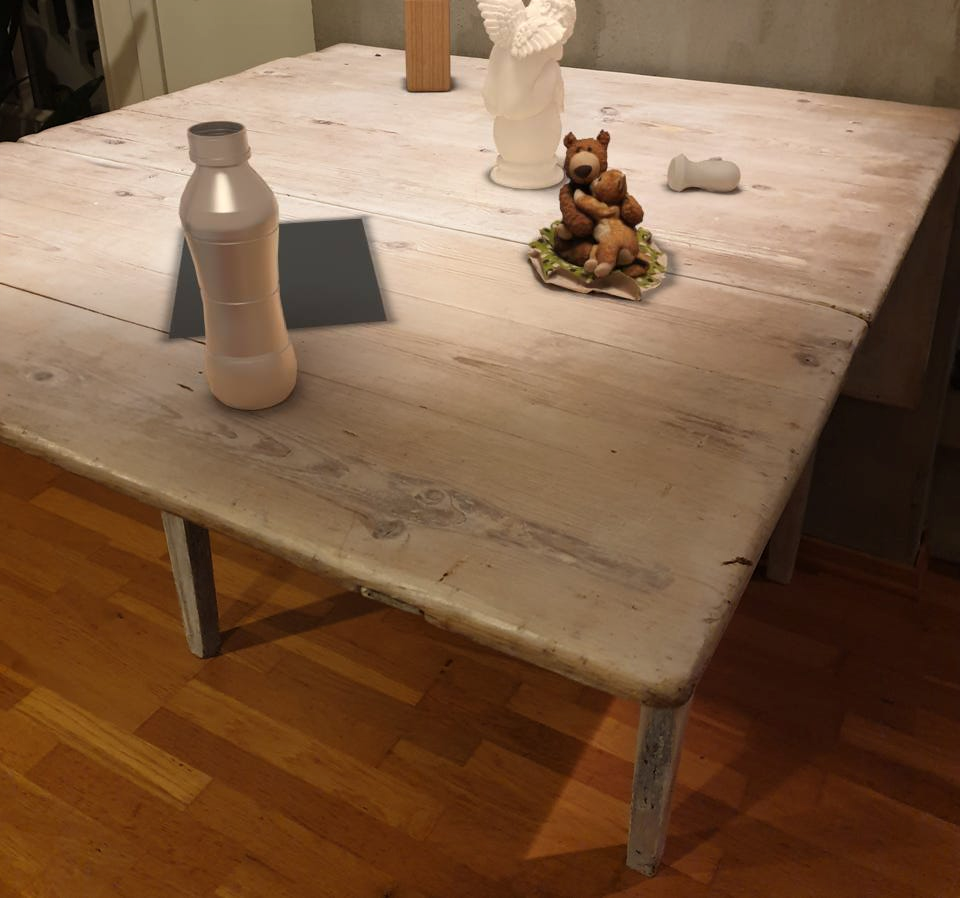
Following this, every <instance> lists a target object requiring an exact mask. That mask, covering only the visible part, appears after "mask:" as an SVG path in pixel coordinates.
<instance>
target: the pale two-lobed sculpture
mask: <svg viewBox="0 0 960 898" xmlns="http://www.w3.org/2000/svg"><path fill="white" fill-rule="evenodd" d="M666 180H667V185H668V188H669V189H670V190H672V191H674V192H678V193H681V192H682V191H684V190H685V189H688V188H697V189H700V190H705V191H709V192H719V193H729V192H731V191H733V190H735V189H736V188H737V186H738V185H739V183H740V181H741V170H740V168H739V166H738V165H737V164H736V163H734V162H733V161H729V160H723V158H722V156H713V157H710V158H708V159H704V160H701V161H699V162H695V161H691V160H690V159H689V158H687V157H686V156H685V155H684V154H683V153H681V154H678V155H677V156H674V157H673V158H672V159H671V160H670V162H669V165H668V168H667V179H666Z"/></svg>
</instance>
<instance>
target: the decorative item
mask: <svg viewBox="0 0 960 898" xmlns="http://www.w3.org/2000/svg"><path fill="white" fill-rule="evenodd" d="M402 3H403V24H404V27H403V28H404V30H403V31H404V56H405V57H404V58H405V75H406V76H405V82H406V85H405V87H406V90H407V91H409V92H411V93H412V92H415V93H416V92H418V93H419V92H448V91H450V90H451V87H452V85H451V84H452V83H451V82H452V80H451V79H452V77H451V75H452V74H451V0H403V2H402Z"/></svg>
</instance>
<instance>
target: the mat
mask: <svg viewBox="0 0 960 898" xmlns="http://www.w3.org/2000/svg"><path fill="white" fill-rule="evenodd" d="M278 270H279V281H278V282H279V286H280V298H281V303H282V308H283V313H284V318H285V323H286V327H287V330H294V329H295V330H296V329H305V328H306V329H307V328H319V327H331V326H343V325H355V324H357V325H358V324H366V323H367V324H368V323H379V322H381V323H382V322H387V321H388V319H387V315H386V311H385V307H384V303H383V299H382V294H381V291H380V287H379V282H378V279H377V275H376V271H375V267H374V262H373V258H372V255H371V250H370V246H369V242H368V238H367V234H366V230H365V226H364V221H363V218H347V219H346V218H345V219H331V220H316V221H315V220H314V221H303V222H302V221H301V222H285V223H279V239H278ZM200 291H201V288H200V286H199V283H198V278H197V274H196V269H195V265H194V262H193V258H192V255H191V252H190V249H189V246H188V243H187V240H186V237H185V236H184V237H183V243H182V250H181V257H180V264H179V269H178V277H177V283H176V289H175V295H174V302H173V308H172V309H173V310H172V314H171V315H172V316H171V321H170V328H169V334H168V340H173V339H185V338H187V339H188V338H198V337H206V335H205V321H204V308H203V301H202V296H201V292H200Z"/></svg>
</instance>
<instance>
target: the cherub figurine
mask: <svg viewBox="0 0 960 898" xmlns="http://www.w3.org/2000/svg"><path fill="white" fill-rule="evenodd" d="M475 2H477V3H478V4H477V9H478V10H479V11H480V16H481V18H482V19H484V21H483V26H484V28H485V32H486V33H487V34H488V38H489V40H490V41H492V43H493V44H494V45H493V47H492V49H491V51H490V54H489V58H488V63H487V73H486V77H485V80H484V82H483V86H482V89H481V94H482V98H483V104H484V109H485V110H486V112H487V113H488V114H490V115H491V116H495V117H494V120H493V126H492V127H493V128H492V135H493V142H494V145H495V147H496V150H497V152H498V155H497V157H496V163H497V166H495V167H494V168H492V170H491V172H490V179H491V180H492V181H493V182H494V183H496V184H498V185H500V186H503V187H508V188H514V189H522V190H536V189H545V188H549V187H553V186H555V185H557V184H559V183H561V182H562V180H563V179H564V177H565V173H564V172H565V171H564V169H563V168H562V167H561V166H559V165H558V164H557V163H558V161H559V157H558V155H557V154H556V152H557V150H558V147H559V145H560V142H561V139H562V132H563V130H562V129H563V125H562V117H561V114H563V113H564V111H565V104H564V103H565V102H564V100H565V99H564V98H565V83H564V79H563V77H562V69H561V66H560V63H559V62H558V61H561V60H562V58H563V56H564V45H566V43H568V40H569V39H570V38H571V36H572V35H573V33H574V29H575V23H576V21H577V7H576V1H575V0H530V2H529V4H528V6H526V5H525V3H524V1H523V0H475Z"/></svg>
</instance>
